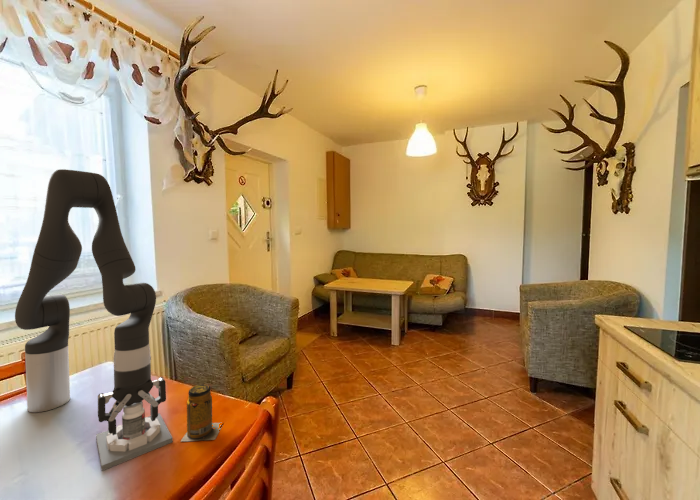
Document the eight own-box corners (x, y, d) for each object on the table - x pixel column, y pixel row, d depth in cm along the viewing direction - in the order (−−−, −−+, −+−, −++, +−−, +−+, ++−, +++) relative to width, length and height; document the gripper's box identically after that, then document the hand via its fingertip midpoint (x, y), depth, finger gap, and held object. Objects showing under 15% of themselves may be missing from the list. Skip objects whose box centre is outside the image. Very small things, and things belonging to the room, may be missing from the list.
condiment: (192, 424, 85) (191, 382, 84) (223, 423, 86) (223, 381, 85) (180, 442, 78) (179, 396, 77) (214, 440, 78) (214, 395, 78)
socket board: (96, 439, 78) (96, 428, 78) (159, 417, 88) (159, 407, 87) (101, 470, 68) (101, 459, 68) (172, 442, 78) (172, 431, 77)
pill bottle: (147, 435, 78) (147, 403, 77) (125, 444, 74) (124, 411, 74) (142, 427, 81) (141, 396, 81) (120, 435, 78) (119, 404, 77)
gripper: (161, 351, 84) (162, 409, 85) (94, 366, 74) (96, 431, 75) (168, 360, 79) (169, 421, 80) (97, 377, 69) (99, 447, 70)
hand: (134, 426), depth 77 cm, fingers open, 7 cm apart
